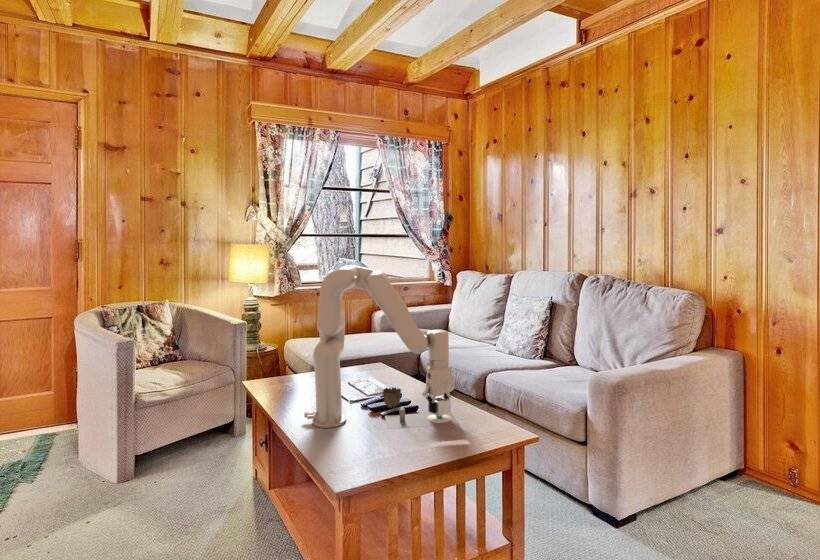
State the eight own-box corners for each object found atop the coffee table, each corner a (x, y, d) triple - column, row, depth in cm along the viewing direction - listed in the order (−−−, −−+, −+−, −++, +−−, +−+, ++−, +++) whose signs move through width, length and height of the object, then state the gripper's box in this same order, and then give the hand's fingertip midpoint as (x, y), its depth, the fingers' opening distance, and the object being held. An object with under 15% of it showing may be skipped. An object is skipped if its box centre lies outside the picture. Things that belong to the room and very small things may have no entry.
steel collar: (438, 416, 187) (438, 403, 187) (428, 412, 192) (427, 399, 191) (450, 412, 191) (450, 399, 190) (440, 408, 196) (439, 395, 195)
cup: (398, 412, 202) (398, 393, 201) (380, 411, 203) (380, 392, 203) (402, 406, 209) (402, 387, 208) (385, 405, 211) (385, 386, 210)
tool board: (388, 432, 182) (387, 415, 182) (384, 418, 195) (384, 403, 195) (458, 427, 186) (458, 411, 186) (450, 414, 199) (450, 399, 198)
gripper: (427, 369, 181) (428, 418, 183) (462, 361, 192) (462, 407, 194) (414, 365, 187) (415, 412, 189) (449, 357, 198) (449, 402, 200)
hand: (439, 409), depth 191 cm, fingers closed on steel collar, 6 cm apart
